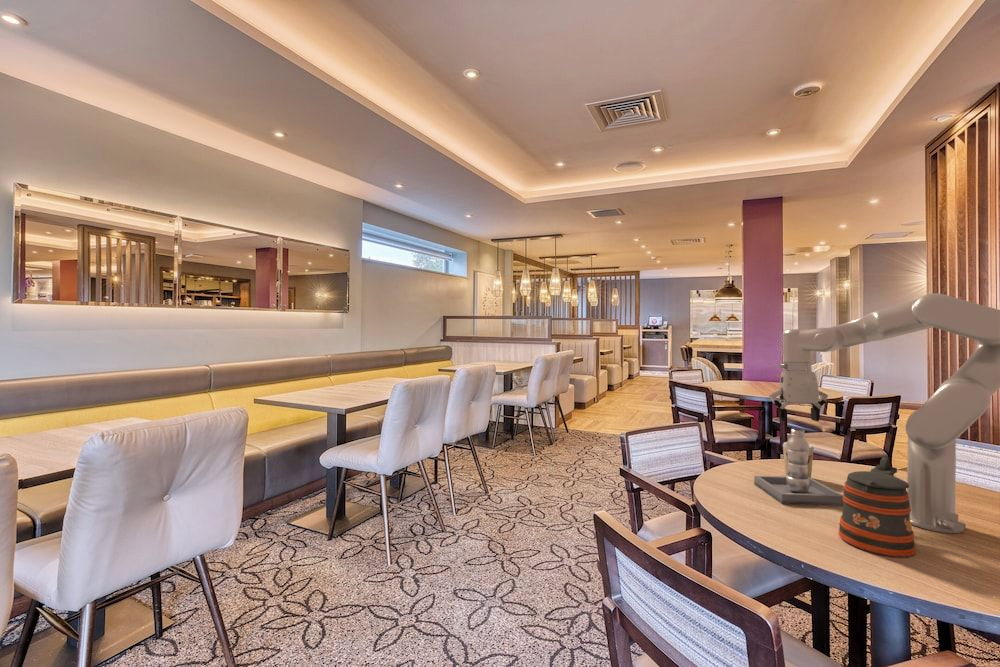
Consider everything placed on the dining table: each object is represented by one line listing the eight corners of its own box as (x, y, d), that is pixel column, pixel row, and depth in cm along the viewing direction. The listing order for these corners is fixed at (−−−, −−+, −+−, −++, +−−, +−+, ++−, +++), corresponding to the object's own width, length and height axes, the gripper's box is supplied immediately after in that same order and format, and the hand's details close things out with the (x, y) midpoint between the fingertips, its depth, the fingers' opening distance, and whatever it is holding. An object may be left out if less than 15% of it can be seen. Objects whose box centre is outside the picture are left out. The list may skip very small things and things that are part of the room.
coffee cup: (783, 479, 160) (783, 445, 160) (781, 472, 168) (781, 440, 168) (815, 483, 156) (815, 449, 156) (811, 476, 164) (811, 443, 164)
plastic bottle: (789, 494, 143) (789, 431, 143) (782, 487, 149) (783, 426, 149) (813, 496, 141) (813, 432, 141) (805, 489, 147) (805, 428, 147)
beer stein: (847, 520, 125) (847, 449, 125) (919, 538, 114) (919, 459, 114) (833, 542, 112) (833, 462, 112) (912, 564, 101) (913, 476, 101)
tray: (845, 506, 135) (845, 496, 135) (782, 504, 137) (782, 494, 137) (809, 486, 153) (809, 477, 153) (754, 484, 155) (754, 475, 155)
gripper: (775, 368, 142) (776, 422, 142) (833, 367, 140) (835, 422, 140) (763, 367, 149) (765, 418, 149) (818, 366, 148) (820, 418, 147)
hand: (799, 420), depth 145 cm, fingers open, 9 cm apart
